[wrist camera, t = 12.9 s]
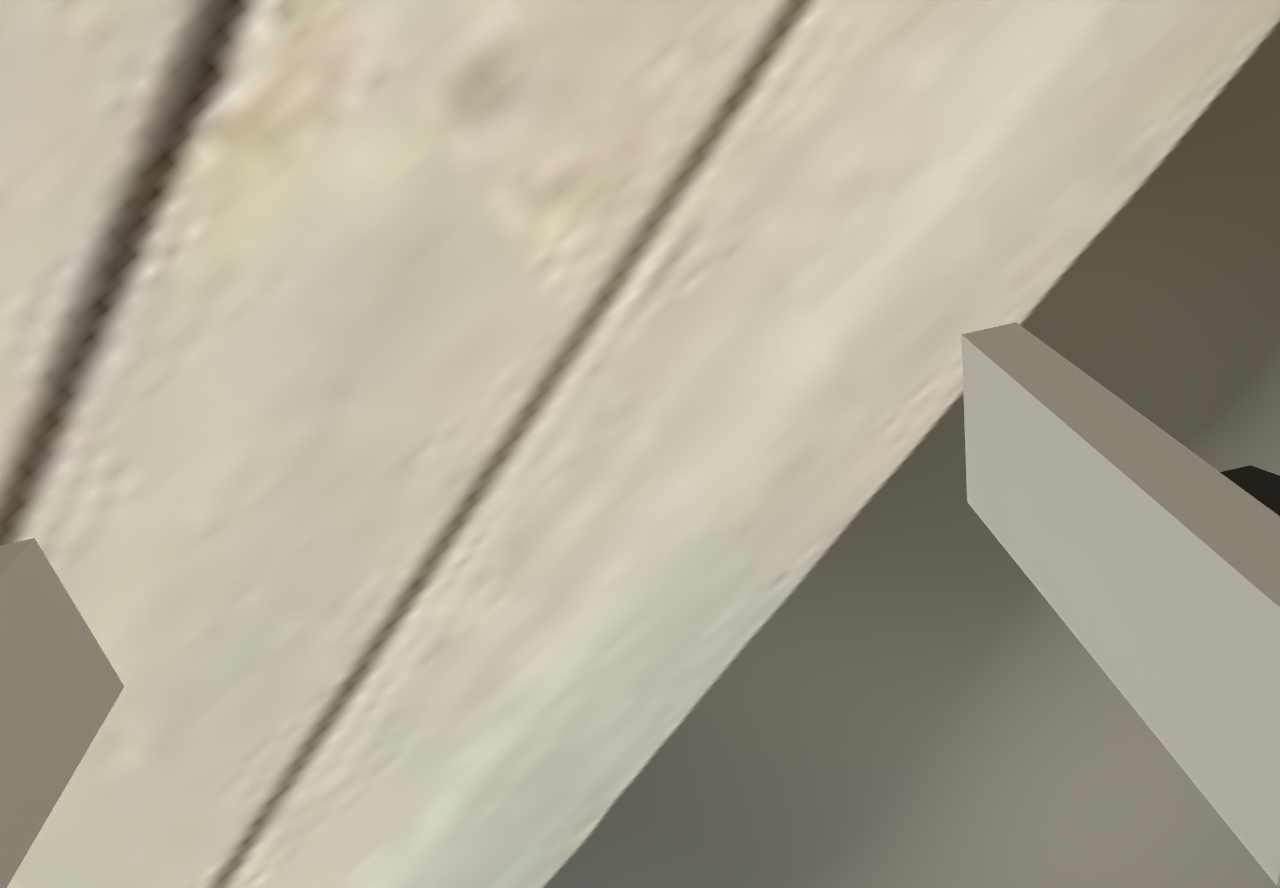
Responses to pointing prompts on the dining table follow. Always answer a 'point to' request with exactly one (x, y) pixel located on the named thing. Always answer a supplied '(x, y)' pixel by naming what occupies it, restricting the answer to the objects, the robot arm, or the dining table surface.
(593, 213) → the dining table surface
